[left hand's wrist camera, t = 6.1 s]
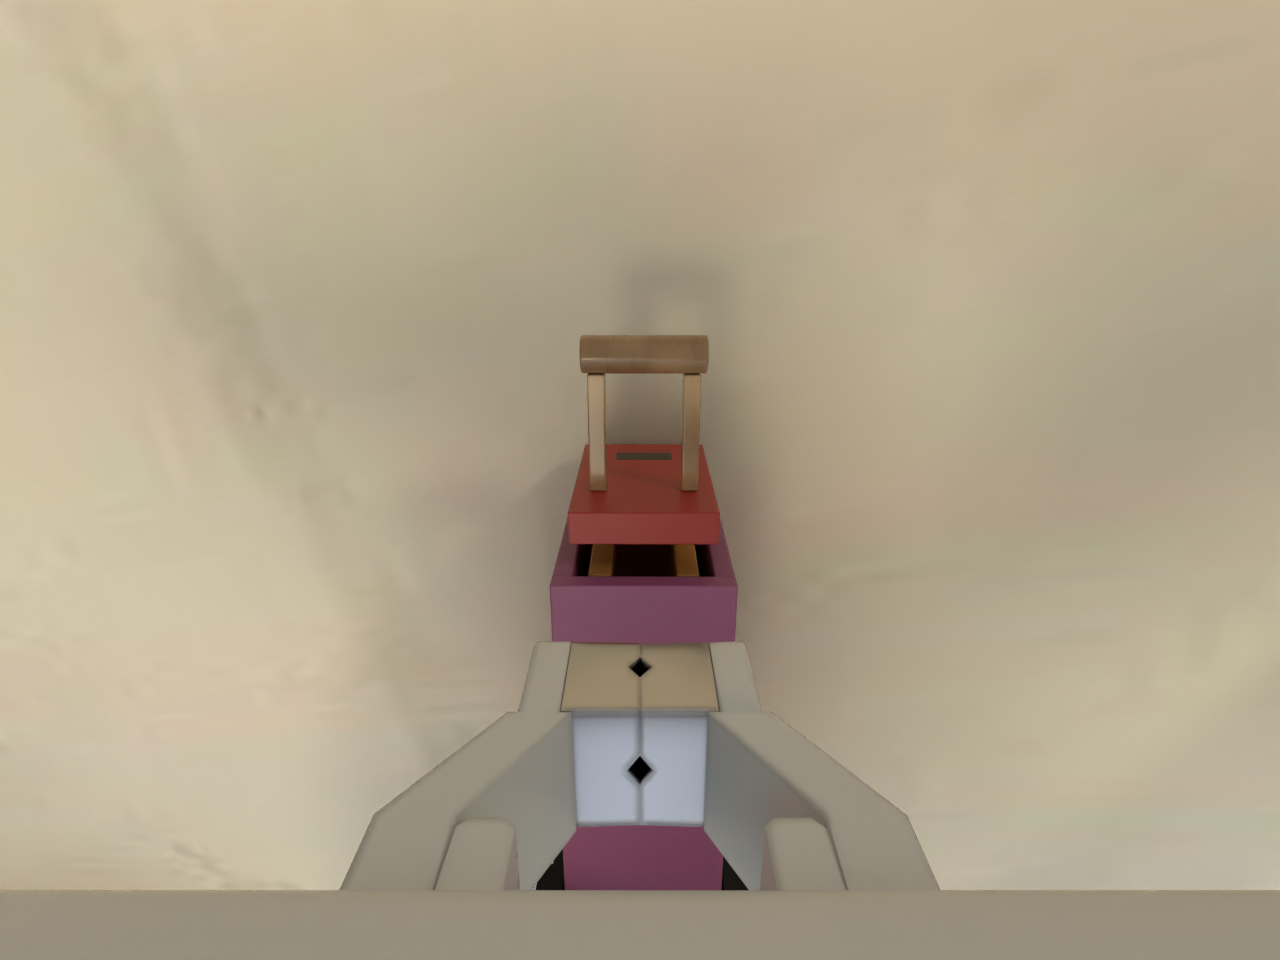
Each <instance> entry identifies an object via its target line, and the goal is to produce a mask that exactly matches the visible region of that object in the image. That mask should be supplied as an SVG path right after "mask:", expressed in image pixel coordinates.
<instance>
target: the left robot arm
mask: <svg viewBox="0 0 1280 960" xmlns="http://www.w3.org/2000/svg"><path fill="white" fill-rule="evenodd" d="M626 825H652V826H687V827H704V831H705V832H706V834H707V835H708V836H709V838H710V839H711V840H712V842H713V843H714V844H715V846H716V847H717V848H718V850H719V851H720V852H721V854H722V855H723V856H724V858H725V859H726V860H727V862H728V863H729V864H730V866H731V867H732V868H733V870H734V871H735V872H736V874H737V875H738V876H739V878H740V879H741V880H742V882H743V883H744V884H745V886H746V887H747V888H748V890H532V889H533V887H534V886H535V885H536V883H537V882H538V881H539V879H540V878H541V877H542V875H543V874H544V873H545V871H546V870H547V869H548V867H549V866H550V865H551V864H552V862H553V861H554V860H555V858H556V857H557V856H558V854H559V853H560V852H561V850H562V849H563V848H564V846H565V845H566V844H567V842H568V841H569V840H570V838H571V837H572V836H573V834H574V833H575V832H576V827H592V826H626ZM0 960H1280V890H940V888H939V886H938V883H937V881H936V879H935V877H934V875H933V872H932V870H931V868H930V866H929V863H928V861H927V859H926V857H925V854H924V852H923V850H922V848H921V845H920V843H919V841H918V839H917V836H916V834H915V832H914V830H913V828H912V825H911V823H910V821H909V819H908V816H907V815H906V814H904V813H903V812H902V811H900V810H899V809H898V808H897V807H895V806H894V805H893V804H891V803H890V802H889V801H887V800H886V799H885V798H884V797H882V796H881V795H880V794H878V793H877V792H876V791H874V790H873V789H872V788H871V787H869V786H868V785H867V784H865V783H864V782H863V781H861V780H860V779H859V778H858V777H856V776H855V775H854V774H852V773H851V772H850V771H848V770H847V769H846V768H845V767H843V766H842V765H841V764H839V763H838V762H837V761H835V760H834V759H833V758H832V757H830V756H829V755H828V754H826V753H825V752H824V751H822V750H821V749H820V748H819V747H817V746H816V745H815V744H813V743H812V742H811V741H809V740H808V739H807V738H805V737H804V736H803V735H802V734H800V733H799V732H798V731H796V730H795V729H794V728H792V727H791V726H790V725H789V724H787V723H786V722H785V721H783V720H782V719H781V718H779V717H778V716H777V715H776V714H774V713H773V712H762V709H761V705H760V701H759V697H758V693H757V689H756V685H755V681H754V678H753V674H752V670H751V666H750V662H749V658H748V654H747V650H746V646H745V644H744V643H743V642H742V641H733V642H708V643H677V644H640V643H603V642H573V643H571V642H538V643H537V644H536V645H535V646H534V649H533V653H532V657H531V661H530V665H529V669H528V673H527V677H526V681H525V685H524V689H523V693H522V697H521V701H520V705H519V709H518V712H507V713H506V714H504V715H503V716H502V717H501V718H499V719H498V720H497V721H495V722H494V723H493V724H491V725H490V726H489V727H487V728H486V729H485V730H484V731H482V732H481V733H480V734H478V735H477V736H476V737H474V738H473V739H472V740H470V741H469V742H468V743H467V744H465V745H464V746H463V747H461V748H460V749H459V750H457V751H456V752H455V753H453V754H452V755H451V756H450V757H448V758H447V759H446V760H444V761H443V762H442V763H440V764H439V765H438V766H436V767H435V768H434V769H433V770H431V771H430V772H429V773H427V774H426V775H425V776H423V777H422V778H421V779H419V780H418V781H417V782H416V783H414V784H413V785H412V786H410V787H409V788H408V789H406V790H405V791H404V792H402V793H401V794H400V795H399V796H397V797H396V798H395V799H393V800H392V801H391V802H389V803H388V804H387V805H385V806H384V807H383V808H382V809H380V810H379V811H378V812H376V813H375V814H374V815H373V817H372V819H371V822H370V824H369V826H368V828H367V830H366V833H365V835H364V837H363V839H362V841H361V844H360V846H359V848H358V850H357V853H356V855H355V857H354V859H353V861H352V864H351V866H350V868H349V870H348V872H347V875H346V877H345V879H344V881H343V883H342V886H341V888H340V890H0Z"/></svg>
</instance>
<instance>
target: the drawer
mask: <svg viewBox="0 0 1280 960" xmlns="http://www.w3.org/2000/svg"><path fill="white" fill-rule="evenodd" d="M708 360H709V343H708V337H707V336H706V335H582V336H581V338H580V369H581V372H582V373H588V375H587V396H588V435H589V444H587V445H585V449H584V453H583V456H582V460H581V464H580V468H579V472H578V476H577V480H576V484H575V487H574V491H573V495H572V499H571V503H570V507H569V511H568V533H569V544H593V547H592V553H591V560H590V566H589V572H588V576H589V577H699V570H698V564H697V557H696V551H695V545H717V544H718V543H719V524H720V512H719V508H718V504H717V501H716V497H715V493H714V489H713V485H712V481H711V477H710V473H709V469H708V466H707V462H706V458H705V454H704V450H703V446H702V445H699V431H700V398H701V375H700V374H705V373H707V370H708ZM605 373H658V374H683V393H682V440H681V445H625V444H606V388H605Z"/></svg>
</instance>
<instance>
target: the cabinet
mask: <svg viewBox="0 0 1280 960" xmlns="http://www.w3.org/2000/svg"><path fill="white" fill-rule="evenodd" d="M592 547H593V544H569V533H568V518H567V521H566V525H565V529H564V533H563V537H562V541H561V545H560V549H559V553H558V557H557V561H556V565H555V568H554V572H553V576H552V580H551V584H550V601H551V622H552V642H571V643H573V642H603V643H640V644H677V643H708V642H733V641H735V628H736V609H737V591H738V586H737V582H736V578H735V575H734V571H733V567H732V563H731V559H730V555H729V551H728V547H727V543H726V539H725V535H724V531H723V528H722V524H721V520H720V524H719V543H718V544H717V545H695V551H696V557H697V564H698V570H699V577H589V576H588V572H589V566H590V560H591V553H592ZM563 864H564V884H565V890H721V888H722V869H723V855H722V854H721V852H720V851H719V850H718V848H717V847H716V846H715V844H714V843H713V842H712V840H711V839H710V838H709V836H708V835H707V834H706V832H705V831H704V827H687V826H652V825H626V826H592V827H576V832H575V833H574V834H573V836H572V837H571V838H570V840H569V841H568V842H567V844H566V845H565V846H564V848H563Z"/></svg>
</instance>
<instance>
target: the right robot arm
mask: <svg viewBox="0 0 1280 960" xmlns="http://www.w3.org/2000/svg"><path fill="white" fill-rule="evenodd" d="M536 890H565V884H564V864H563V849H562V850H561V852H560V853H559V854H558V856H557V857H556V858H555V860H554V862H553V864H551V865H550V866H549V867H548V869H547V870H546V871H545V873H544V874H543V875H542V877H541V878H540V879H539V881H538V882H537V886H536ZM721 890H748V888H747V887H746V886H745V884H744V883H743V882H742V880H741V879H740V878H739V876H738V875H737V874H736V872H735V871H734V870H733V868H732V867H731V866H730V864H729V863H728V862H727V860H726V859H725V858H724V856H723V869H722V888H721Z"/></svg>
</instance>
